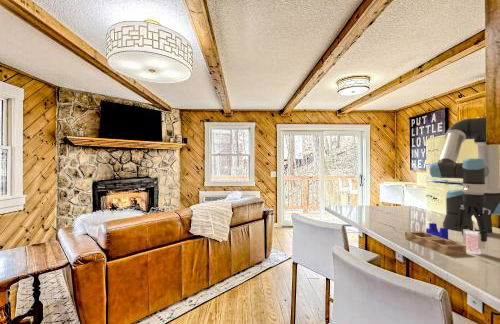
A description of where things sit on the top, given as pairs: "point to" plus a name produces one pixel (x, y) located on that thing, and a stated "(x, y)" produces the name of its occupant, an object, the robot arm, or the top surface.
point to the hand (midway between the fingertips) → (473, 245)
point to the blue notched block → (433, 230)
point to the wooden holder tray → (436, 243)
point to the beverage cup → (472, 241)
